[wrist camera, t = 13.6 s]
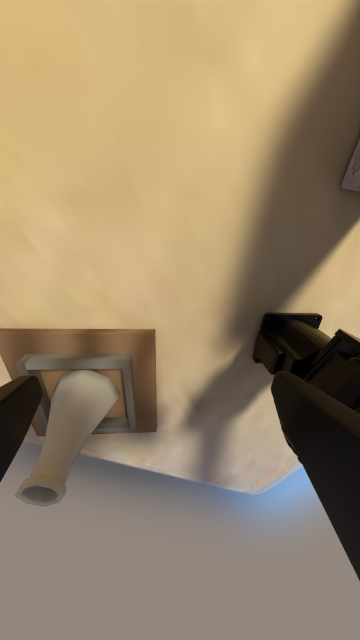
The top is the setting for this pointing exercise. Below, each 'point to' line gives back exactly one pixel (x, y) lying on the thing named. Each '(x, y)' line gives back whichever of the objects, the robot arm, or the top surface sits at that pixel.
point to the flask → (67, 432)
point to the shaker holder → (94, 354)
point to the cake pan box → (353, 172)
